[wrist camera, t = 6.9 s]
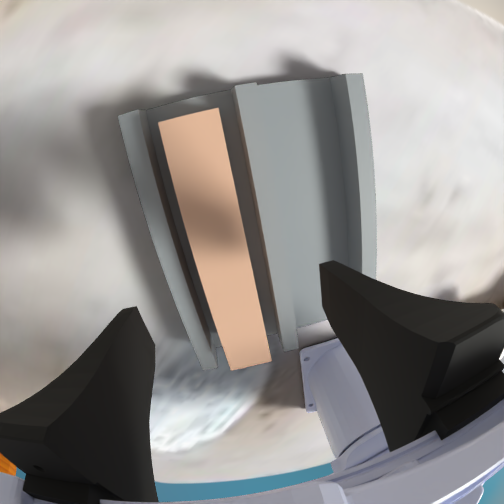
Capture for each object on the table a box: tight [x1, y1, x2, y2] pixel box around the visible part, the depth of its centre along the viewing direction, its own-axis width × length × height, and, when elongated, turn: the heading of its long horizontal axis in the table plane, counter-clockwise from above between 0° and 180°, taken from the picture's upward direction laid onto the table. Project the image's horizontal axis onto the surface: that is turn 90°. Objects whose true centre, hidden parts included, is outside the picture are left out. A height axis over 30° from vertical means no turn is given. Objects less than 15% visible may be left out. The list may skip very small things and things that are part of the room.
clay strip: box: [158, 108, 272, 371], centre depth 16 cm, size 14×2×4 cm, turn 10°
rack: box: [118, 73, 377, 371], centre depth 17 cm, size 16×13×3 cm
